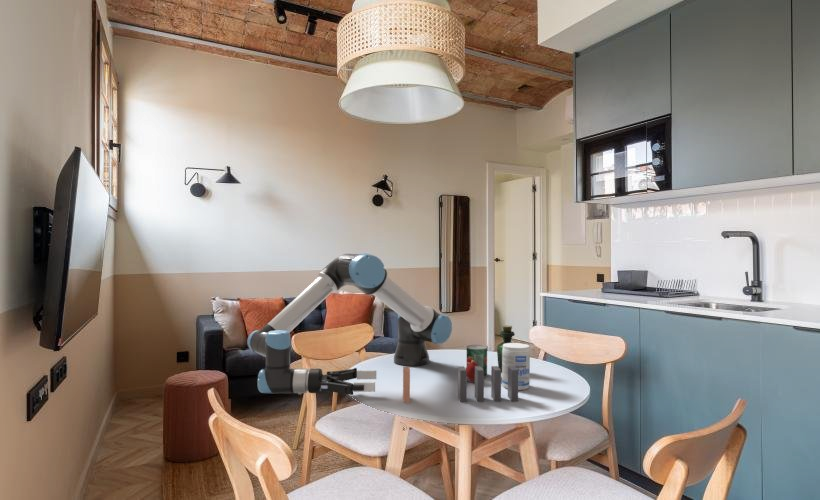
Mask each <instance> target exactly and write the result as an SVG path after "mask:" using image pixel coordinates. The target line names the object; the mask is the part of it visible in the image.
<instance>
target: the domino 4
mask: <svg viewBox="0 0 820 500" xmlns="http://www.w3.org/2000/svg"><path fill="white" fill-rule="evenodd" d="M507 397H508V399H509V400H510V402H519V390H518V369H516V368H515V367H514V366H508V388H507Z"/></svg>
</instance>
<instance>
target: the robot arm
mask: <svg viewBox="0 0 820 500" xmlns="http://www.w3.org/2000/svg"><path fill="white" fill-rule="evenodd" d="M344 286H353V287H355V288H357V289H358V290H359V291H361V292H362V293H363V294H364V295H366V296H374V297H375V298H377V300H379V301H380V302H381V303H383V304H384V305H385V306H387V307H388V308H389V309H391V310H392V311H394V312H395V313H396V314H397V346H396V349H395V352H394V355H393V363H395V364H396V365H400V366H405V367H412V366H413V367H414V366H424V365H427V364H429V363H430V356H429V352H428V348H427V345H426V342H429V343H432V344H435V345H436V344H438V345H441V344H444V343H446V342H447V341H448V340H449V339H450V337H451V334H452V331H453V322H452V319H451V317H449V316H448V315H446V314H444V313H442V314H441V313H439V312H437V310H435V309H434V308H433V307H431V306H429V305H423V304H421V302H420V301H418V300H417V299H416V298H414V297H413V296H412V295H411V294H409V293H408V292H407V291H406V290H404V288H402V287H401V286H400V285H398V283H396V282H395V281H394V280H392V278H390V277H389V276H388V271H387V269H386V268H385V265H384V263H383V262H382V260H381V259H380V258H379V257H377V256H376V255H374V254H370V253H344V254H341V255H339V256H338V257H336V258H334V259H333V260H332V261H330V262H329V263H328V264H327V265H326V266H325V267H324V268H322V269H321V270H320V271H319V272H318V273H317V278H315V280H313V282H311V283H310V284H309V285H308V286H307V287H306V288H305V289H304V290H303V291H301V292H300V293H299V294H298V295H296V297H295V298H294V299H292V301H291V302H289V303H288V304H287V305H286V306H285V307H284V308H283V309H281V310H280V312H279V313H277V314H276V315H275V316H274V317H273V318H272V319H270V321H269V322H268V323H266V325H264V326H263V327H262V328H261V329H256V330H253V331H252V332H250V334H249V335H248V337H247V340H246V341H247V342H246V343H247V347H248V348H249V349H250V350H251V351H252V352H253V353H255V354H257V355H259V356H262V357H265V368H262V369H260V370H259V372H258V374H257V381H256V383H257V389H258V391H259V392H260V393H262V394H272V395H274V394H275V395H276V394H298V396H300V395H302V394H320V393H321V392H330V393H337V394H343V395H349V396H353V395H354V393H359V392H360V393H370V392H371V393H375V392H376V381H354V382H353V383H352V382H349V380H354V379H356V380H377V370H358V368H357V367H354V368H350V369H344V370H334V371H326V374H323V370H322V369H321V368H310V369H309V368H291V349H292V347H291V346H292V345H291V344H292V341H291V334H290V333H291V332H292V331H293V330H294V329H295V328H296V327H297V326H298V325H300V323H302V321H303V320H304V319H306V317H308V316H309V315H310V314H311V313H312V312H313V311H314V310H315V309H316V308H317V307H318V306H319V305H320V304H321V303H322V302H323V301H325V299H327V298H328V297H329V295H331V294H332V293H336V292H338V291H339V290H340V289H341V288H343V287H344Z"/></svg>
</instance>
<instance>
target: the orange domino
mask: <svg viewBox="0 0 820 500" xmlns="http://www.w3.org/2000/svg"><path fill="white" fill-rule="evenodd" d="M410 370H411V369H410V366H402V402H409V403H410V402H411V371H410Z"/></svg>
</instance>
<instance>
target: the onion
mask: <svg viewBox="0 0 820 500" xmlns="http://www.w3.org/2000/svg"><path fill="white" fill-rule="evenodd" d="M475 366H479V365H478V364H476V363H475V362H474V361H473V360H472V361H471V363H470V364H469V365H468V366H467V365H466V366H465V369H466V370H467V380H469V381H470V382H471V383H475Z"/></svg>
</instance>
